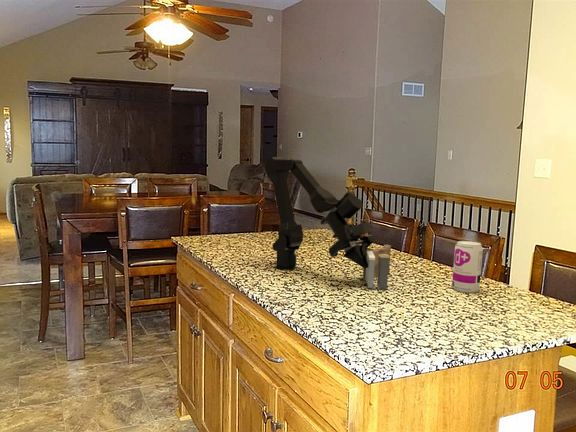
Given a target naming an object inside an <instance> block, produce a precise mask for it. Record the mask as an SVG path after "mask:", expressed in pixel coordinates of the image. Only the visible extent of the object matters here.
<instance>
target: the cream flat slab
mask: <svg viewBox="0 0 576 432" xmlns="http://www.w3.org/2000/svg"><path fill="white" fill-rule="evenodd" d="M373 251H374V250H373ZM373 251H372V250H367V262H368V268H366V278H365V279H366V280H365V279H364V280H365V282H366V285H367V289H369V290H372V289H373V288H374V279H375V277H374V262H375V256H374V254H373Z"/></svg>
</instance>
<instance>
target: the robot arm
mask: <svg viewBox="0 0 576 432" xmlns="http://www.w3.org/2000/svg"><path fill="white" fill-rule="evenodd" d="M263 165H264V170H265V174H266V177H267V178H268V180H270V182H271V183H272V186H273V191H274V196H275V202H276V205H277V206H276V207H277V211H278V217H279V223H280V225H279V228H278V231H277V235H278V236H277V237H278V238H277V239H276V240H275V241H274V242H273V244H272V245H271V246H272V251H275V252H276V265H275V266H274V267H275V269H280V270H281V269H282V270H294V269H295V268H296V267H297V258H298V257H297V256H298V254H297V253H296V251H298V250H300V247H301V244H302V243H303V242H304V236H305V235H304V232H303V226H302V224H298V223H297V221H296V220H295V218H294V217H295V216H294V212H293V207H292V202H291V196H290V191H289V186H288V181H287V180H288V178H289V174H290V173H291V174H292V175H293V176H294V177H295V179H296V180H297V181H298V183H299V184H300V186H302V188H303V189H304V191H305V192H306V193H307V195H308V196H309V199H310V200H309V202H310V204H311V206H312V207H313V210H314V211H315V212H316V213H318V214H323V213H324V214H326V215H322V216H321V221H320V225H328V226H329V228H330V229H331V231H332V232H333V235H332V238H333V239H337V240H336V241H335V242H334V243H333V244H332V245H331V246H330V247H329V248H328V254H329V255H330V257H331V258H335V257H338V255H339V252H340V251H344V254H343V255H342V257H343V258H346V259H348V260H349V261H352V262H353V263H355V264H356V265H358V266H360V267H362V269H363V268H364V269H366V268H368V262H367V258H366V254H365V249H366V248H369V247H370V246H371V245H372V244H374V243H375V242H376V238H375V237H374V235H372V234H367V233H371V232H372V231H371V230H372V228H373V225H372V224H371V222H369V221H368V220H364V221H360V223H359V224H356V225H354V224H353V223H352V224H349V222H348V220H350V219H352V218H353V217H354V216H355V215H357V213H358V212H359V211H360V210H362V209H363V207H364V203H363V202H362V199H360V198H358V196H356V195H355V194H353V192H351V191H349V192H346V193H344V194H343V196H342V197H341V199H337V197H335V195H334V194H332V193H331V192H330V191H329V190H327V189H325V188H324V187H322V186H321V185H320V183H319V182H318V181H317V180H316V179H315V177H314V176H313V175H312V174H311V172H310V171H309V170H308V168H307V167H306V166H305V165H304V163H303V161H302V160H301V159H299V158H298V159H297V158H291V159H286V158H284V157H268V158H267V159H266V161H265V162H264V164H263ZM366 234H367V235H366Z"/></svg>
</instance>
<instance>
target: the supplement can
mask: <svg viewBox="0 0 576 432" xmlns="http://www.w3.org/2000/svg"><path fill="white" fill-rule="evenodd" d="M483 253H484V248H483V246H482V243H481V242H478V241H470V240H458V241H457V243H456V244H455V246H454V255H453V268H452V270H453V271H452V282H451V286H452V288H453V290H454V291H456V292H461V293H469V294H470V293H471V294H472V293H473V294H475V293H477V292H478V291H479V290H480V288H481V287H480V285H481V276H482V275H481V274H482V267H483V266H482V264H483Z"/></svg>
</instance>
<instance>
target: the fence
mask: <svg viewBox="0 0 576 432" xmlns="http://www.w3.org/2000/svg"><path fill="white" fill-rule="evenodd" d="M391 249H392V245H390V244H383V248H379V249H378V250H375V249H374V248H369V247H368V248H366V249H365V254H366V258H367V250H372V251H373V254H374V256H375V262H374V278H378V264H379V256H378V254H388V255H389V256H390V258H389V265H388V275H389V274H390V265H391V264H390V263H391ZM365 278H366V269H364V268H363V267H362V279H363V280H365V281H366V279H365Z"/></svg>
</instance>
